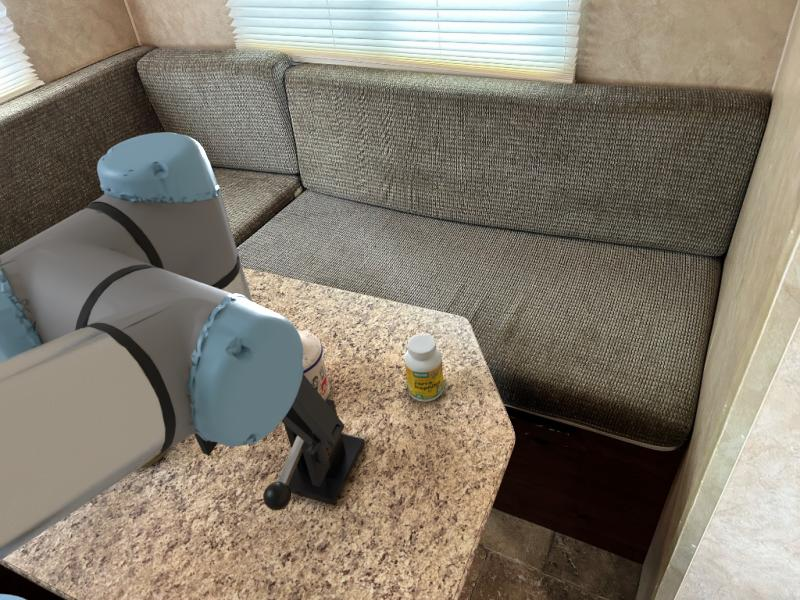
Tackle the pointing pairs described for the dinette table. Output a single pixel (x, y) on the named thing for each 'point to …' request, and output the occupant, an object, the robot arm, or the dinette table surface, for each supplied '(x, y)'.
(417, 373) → the supplement bottle
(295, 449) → the lever with black knob
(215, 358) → the robot arm
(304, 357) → the teacup with lid
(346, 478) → the black lever base
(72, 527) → the dinette table surface
